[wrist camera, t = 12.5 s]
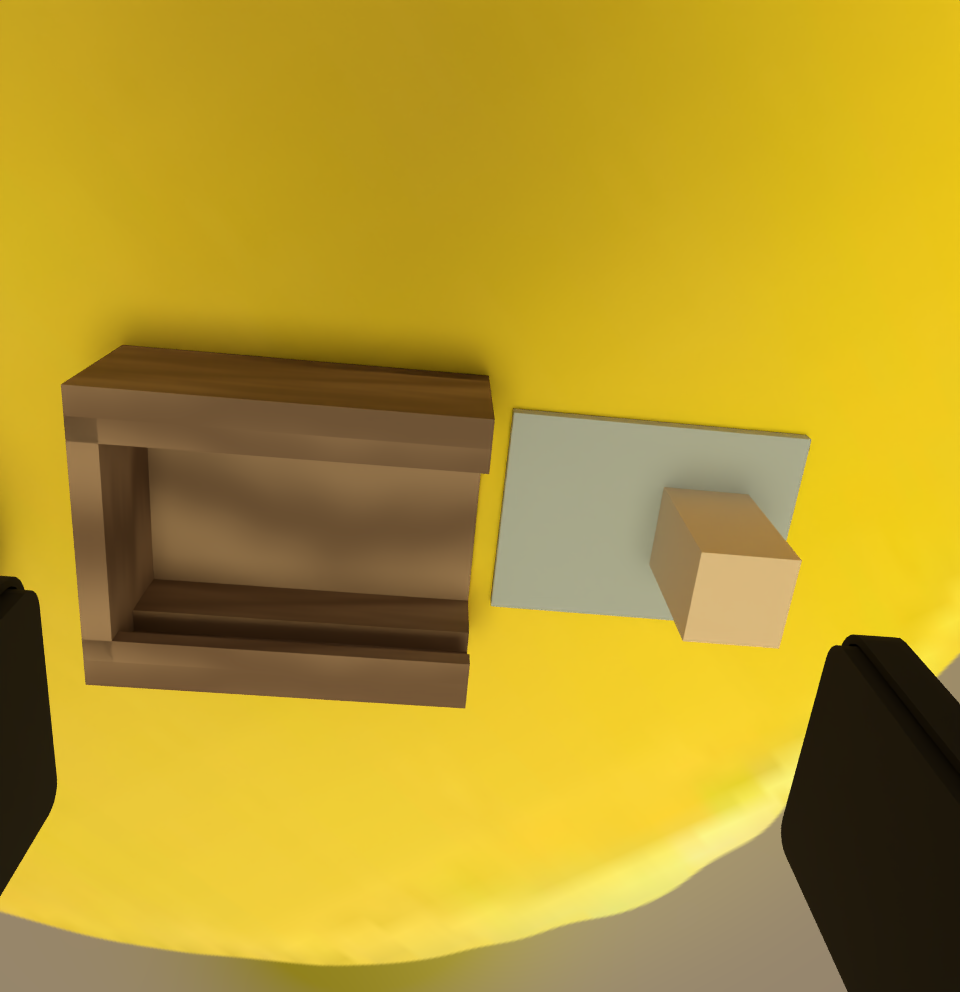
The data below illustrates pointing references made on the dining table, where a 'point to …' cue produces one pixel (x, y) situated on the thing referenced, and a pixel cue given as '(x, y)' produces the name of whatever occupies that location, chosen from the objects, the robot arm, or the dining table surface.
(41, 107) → the dining table surface
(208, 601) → the walnut box
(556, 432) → the cover plate
